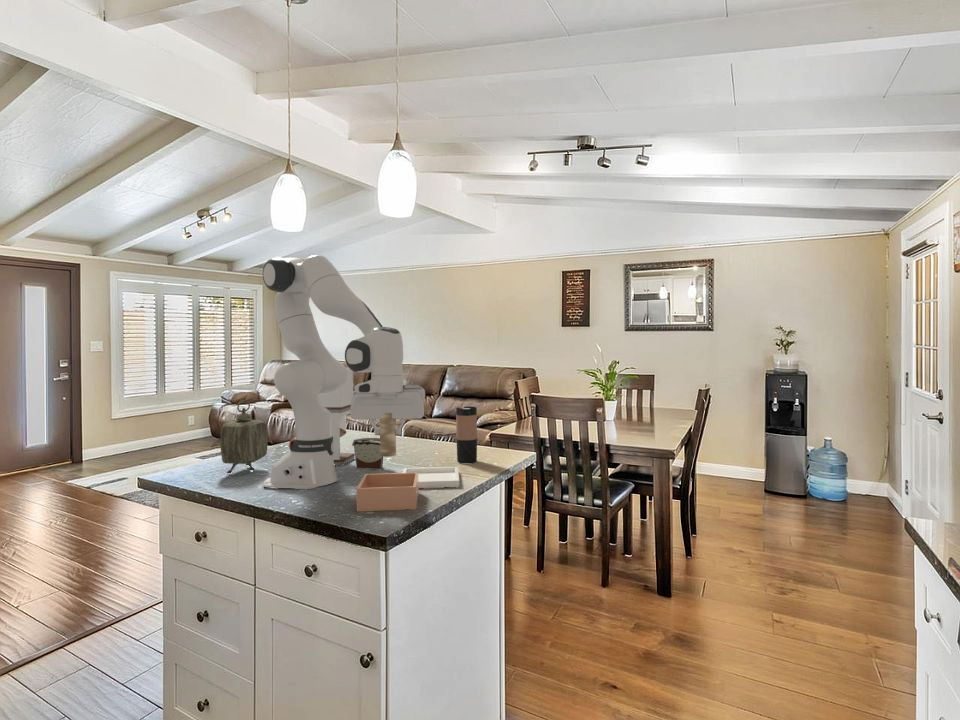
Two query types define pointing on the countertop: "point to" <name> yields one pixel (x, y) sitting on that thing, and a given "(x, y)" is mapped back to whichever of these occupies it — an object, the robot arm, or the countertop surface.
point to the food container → (368, 453)
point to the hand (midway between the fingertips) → (387, 434)
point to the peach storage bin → (388, 492)
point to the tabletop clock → (243, 439)
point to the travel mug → (466, 434)
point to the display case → (339, 415)
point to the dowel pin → (387, 435)
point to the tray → (436, 476)
